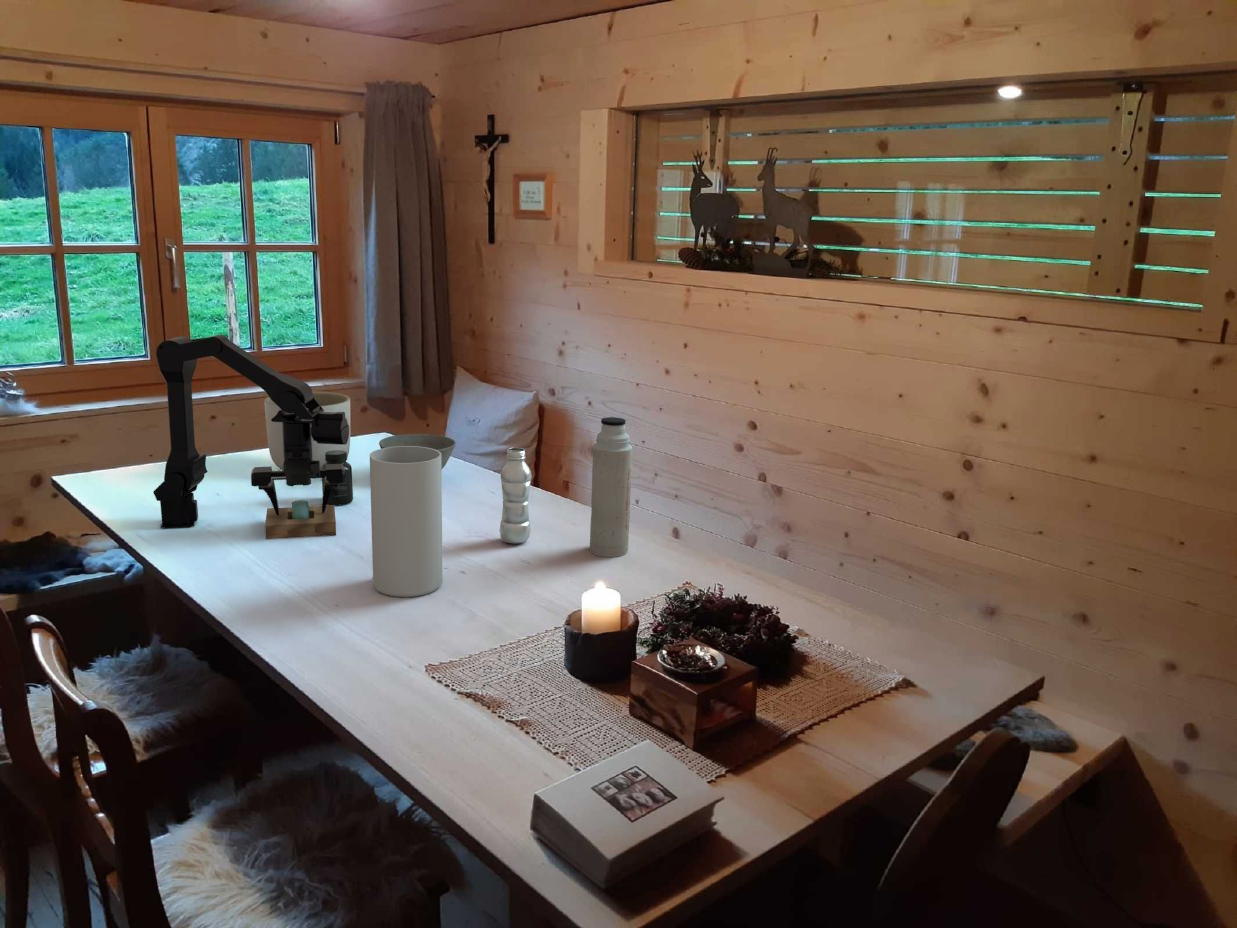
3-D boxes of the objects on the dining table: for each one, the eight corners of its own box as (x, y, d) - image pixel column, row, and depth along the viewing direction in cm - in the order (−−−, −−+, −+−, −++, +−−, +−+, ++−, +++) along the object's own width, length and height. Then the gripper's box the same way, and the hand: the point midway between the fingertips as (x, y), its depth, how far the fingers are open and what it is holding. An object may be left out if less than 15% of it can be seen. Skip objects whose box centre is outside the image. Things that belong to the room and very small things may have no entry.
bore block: (265, 539, 200) (264, 525, 200) (267, 521, 211) (267, 508, 211) (336, 535, 204) (335, 521, 204) (334, 517, 216) (334, 505, 215)
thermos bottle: (631, 546, 205) (637, 416, 198) (623, 558, 197) (629, 424, 190) (594, 542, 206) (598, 413, 199) (585, 554, 199) (589, 421, 192)
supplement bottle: (357, 498, 230) (356, 449, 227) (346, 507, 223) (345, 456, 220) (329, 497, 231) (327, 447, 227) (318, 505, 224) (315, 455, 221)
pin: (292, 527, 206) (291, 505, 204) (292, 522, 209) (291, 500, 208) (309, 526, 207) (308, 504, 205) (309, 521, 210) (308, 499, 208)
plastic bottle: (493, 543, 203) (493, 450, 198) (511, 534, 209) (512, 444, 204) (518, 549, 201) (520, 455, 196) (536, 540, 206) (538, 448, 201)
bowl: (365, 484, 241) (364, 445, 239) (403, 467, 259) (402, 430, 256) (433, 493, 236) (433, 454, 234) (467, 475, 254) (467, 437, 251)
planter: (255, 479, 242) (250, 404, 237) (286, 459, 262) (282, 389, 257) (337, 483, 242) (335, 408, 237) (362, 462, 262) (360, 393, 257)
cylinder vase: (374, 600, 172) (370, 464, 166) (372, 575, 184) (368, 447, 177) (445, 596, 175) (444, 462, 169) (439, 571, 187) (438, 445, 181)
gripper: (247, 453, 193) (252, 528, 197) (345, 450, 198) (347, 522, 202) (250, 440, 203) (254, 511, 207) (343, 437, 209) (345, 507, 213)
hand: (300, 513), depth 207 cm, fingers open, 9 cm apart
